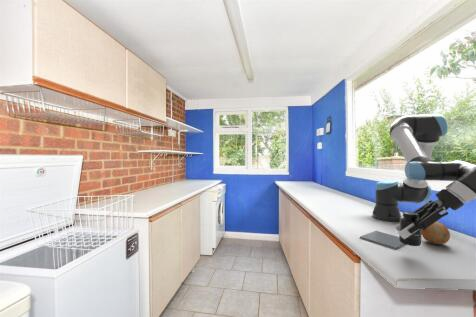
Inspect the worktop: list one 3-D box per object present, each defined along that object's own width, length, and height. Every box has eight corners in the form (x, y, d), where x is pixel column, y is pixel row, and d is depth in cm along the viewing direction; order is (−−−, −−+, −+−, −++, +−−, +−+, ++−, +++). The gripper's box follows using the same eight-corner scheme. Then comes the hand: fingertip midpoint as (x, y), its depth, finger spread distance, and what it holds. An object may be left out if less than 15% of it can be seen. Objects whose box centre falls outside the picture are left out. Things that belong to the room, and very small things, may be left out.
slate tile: (376, 232, 112) (376, 230, 112) (411, 241, 99) (411, 240, 99) (359, 238, 104) (359, 236, 104) (395, 249, 91) (395, 247, 91)
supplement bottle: (414, 248, 81) (415, 216, 81) (395, 241, 88) (395, 211, 87) (425, 244, 84) (425, 214, 84) (405, 238, 90) (406, 209, 90)
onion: (438, 249, 91) (438, 225, 91) (414, 240, 101) (415, 218, 101) (456, 247, 93) (456, 224, 93) (431, 238, 103) (431, 217, 103)
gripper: (478, 210, 69) (413, 250, 78) (453, 198, 87) (402, 232, 95) (455, 192, 72) (395, 233, 80) (436, 184, 89) (387, 218, 97)
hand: (399, 232), depth 87 cm, fingers closed on supplement bottle, 7 cm apart
